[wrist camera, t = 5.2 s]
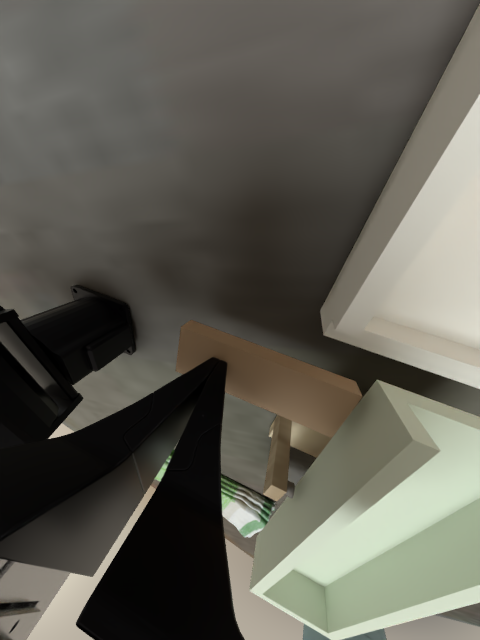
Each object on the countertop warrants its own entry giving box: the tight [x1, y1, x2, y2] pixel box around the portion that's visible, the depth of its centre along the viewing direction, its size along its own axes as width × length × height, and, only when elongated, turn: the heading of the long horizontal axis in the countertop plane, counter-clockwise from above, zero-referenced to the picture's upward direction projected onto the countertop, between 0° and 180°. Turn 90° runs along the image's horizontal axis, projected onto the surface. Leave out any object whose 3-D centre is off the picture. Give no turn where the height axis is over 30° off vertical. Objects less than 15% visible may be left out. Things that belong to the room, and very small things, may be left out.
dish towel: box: [155, 450, 275, 537], centre depth 34 cm, size 17×23×4 cm
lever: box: [176, 320, 480, 640], centre depth 12 cm, size 16×20×3 cm
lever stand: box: [263, 403, 358, 501], centre depth 14 cm, size 11×8×7 cm
